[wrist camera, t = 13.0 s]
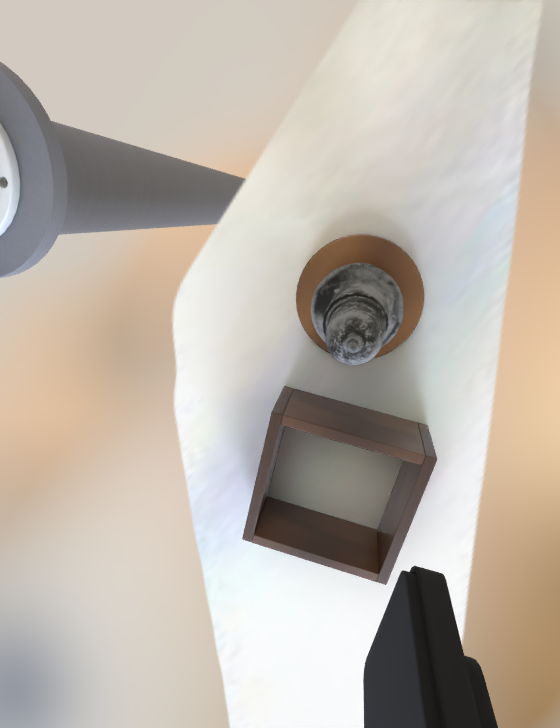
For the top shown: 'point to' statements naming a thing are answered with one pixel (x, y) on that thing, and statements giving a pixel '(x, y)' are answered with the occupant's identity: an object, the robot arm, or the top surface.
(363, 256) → the coaster
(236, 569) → the top surface
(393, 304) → the stone chess piece
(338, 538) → the crate
